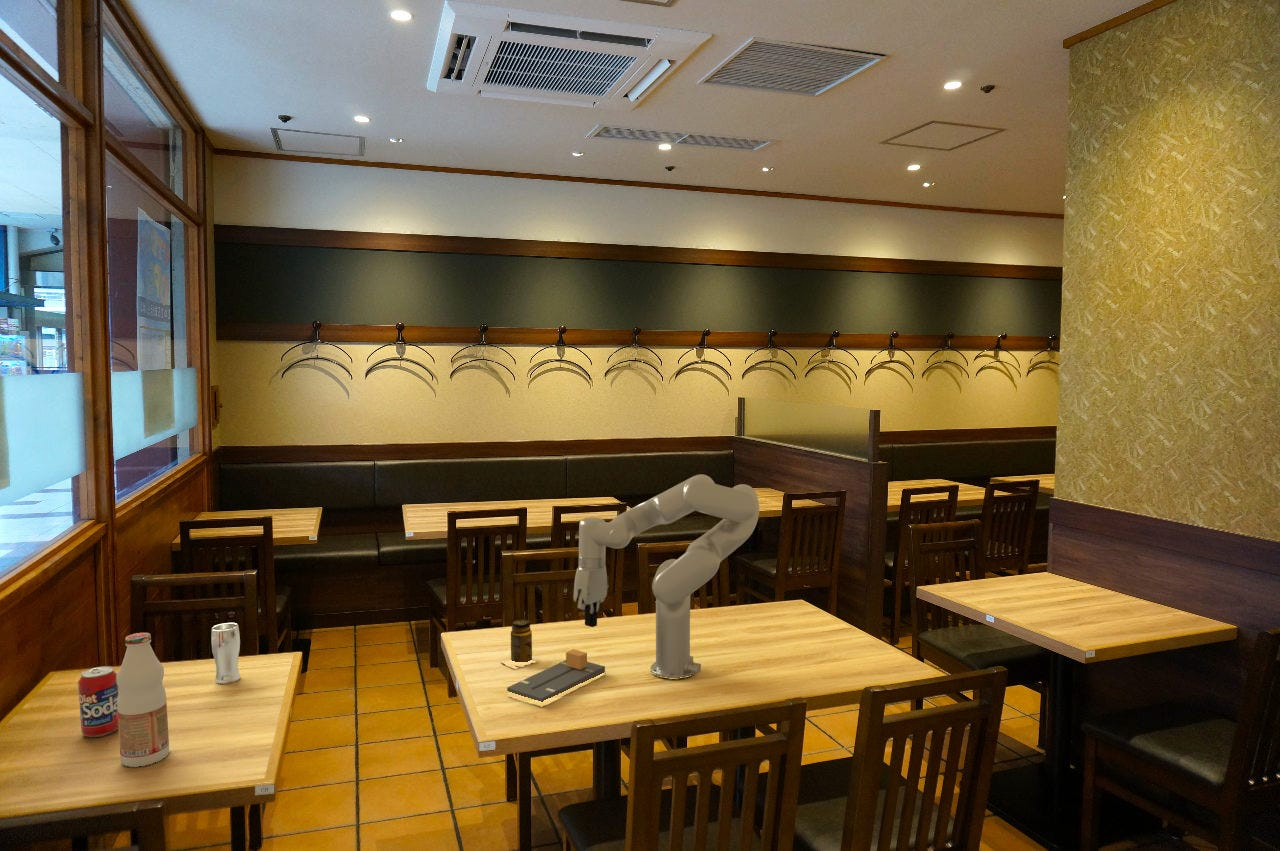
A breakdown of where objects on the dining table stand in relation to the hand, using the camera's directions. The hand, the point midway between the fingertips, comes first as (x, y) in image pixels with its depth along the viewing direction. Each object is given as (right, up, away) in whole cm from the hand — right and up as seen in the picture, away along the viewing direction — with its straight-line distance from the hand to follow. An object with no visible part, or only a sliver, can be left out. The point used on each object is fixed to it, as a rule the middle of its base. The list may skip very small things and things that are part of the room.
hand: (590, 625), depth 238 cm
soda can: (-114, -17, -38) cm, 121 cm away
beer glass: (-99, -14, -7) cm, 101 cm away
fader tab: (-4, -10, -5) cm, 12 cm away
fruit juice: (-96, -18, -50) cm, 110 cm away
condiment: (-21, -12, +5) cm, 25 cm away
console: (-8, -14, -11) cm, 20 cm away
